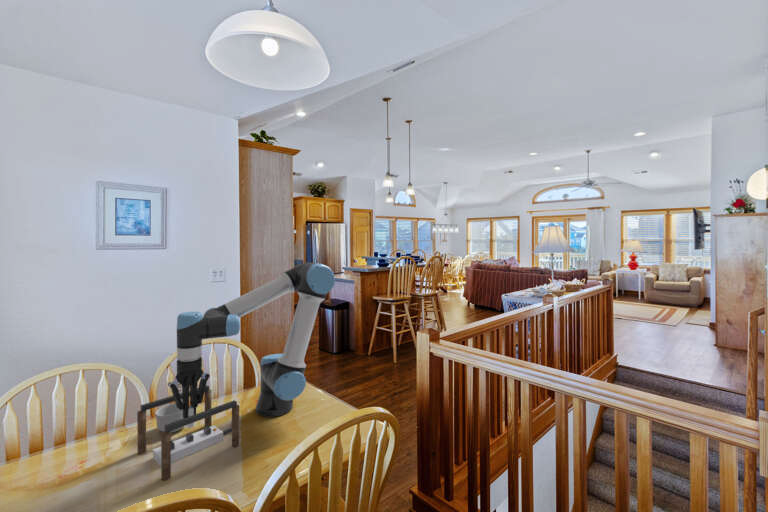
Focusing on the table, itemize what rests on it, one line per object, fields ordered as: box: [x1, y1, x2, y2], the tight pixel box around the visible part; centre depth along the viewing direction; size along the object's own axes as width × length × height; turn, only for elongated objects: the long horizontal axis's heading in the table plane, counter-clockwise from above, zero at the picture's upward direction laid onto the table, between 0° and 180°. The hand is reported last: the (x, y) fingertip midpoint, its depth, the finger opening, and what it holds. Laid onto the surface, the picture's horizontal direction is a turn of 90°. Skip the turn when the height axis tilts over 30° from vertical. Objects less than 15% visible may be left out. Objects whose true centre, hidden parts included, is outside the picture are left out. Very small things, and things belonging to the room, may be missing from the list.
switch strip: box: [152, 425, 232, 468], centre depth 123 cm, size 26×7×5 cm, turn 142°
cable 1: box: [140, 384, 210, 411], centre depth 127 cm, size 22×2×2 cm, turn 142°
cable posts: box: [136, 388, 240, 482], centre depth 121 cm, size 24×22×14 cm
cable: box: [165, 399, 238, 432], centre depth 114 cm, size 22×2×2 cm, turn 142°
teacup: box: [155, 402, 185, 434], centre depth 135 cm, size 14×11×8 cm
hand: (189, 426), depth 121 cm, fingers closed
